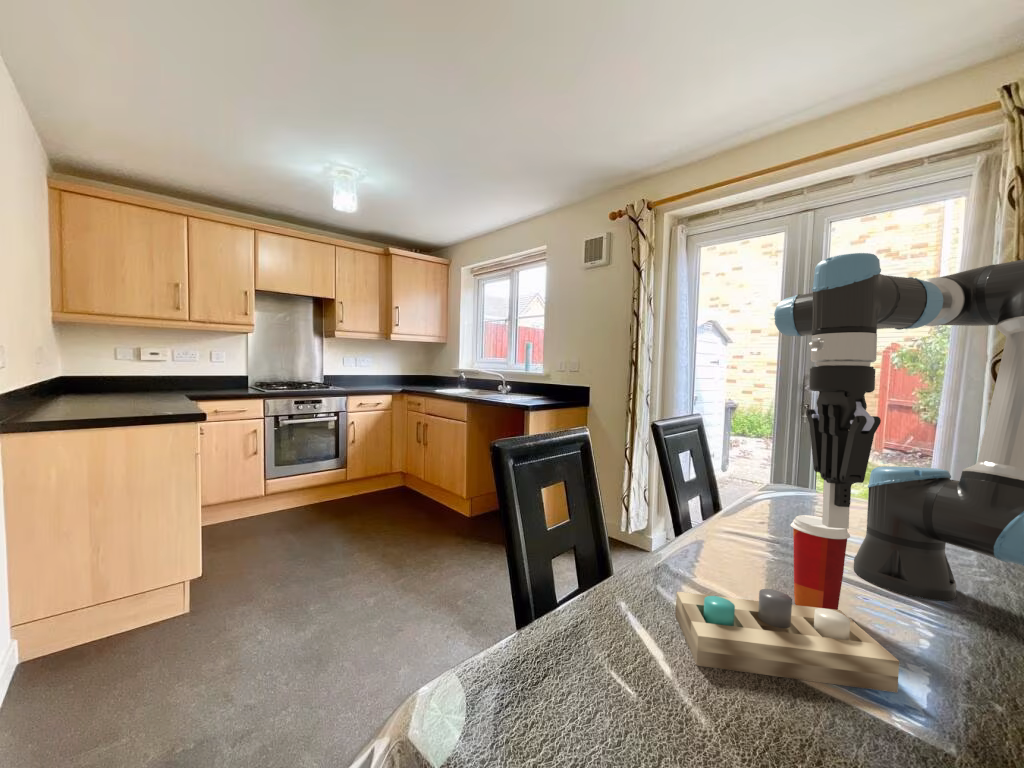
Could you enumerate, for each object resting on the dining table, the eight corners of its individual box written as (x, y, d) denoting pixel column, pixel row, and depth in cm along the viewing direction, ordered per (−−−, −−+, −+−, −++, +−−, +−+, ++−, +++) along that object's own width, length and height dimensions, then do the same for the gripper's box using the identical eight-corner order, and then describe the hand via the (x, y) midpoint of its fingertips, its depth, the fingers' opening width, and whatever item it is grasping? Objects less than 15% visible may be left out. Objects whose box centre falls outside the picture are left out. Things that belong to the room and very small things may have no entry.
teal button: (727, 620, 64) (729, 597, 64) (737, 636, 60) (739, 611, 60) (699, 617, 64) (700, 594, 64) (707, 632, 60) (709, 608, 60)
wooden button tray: (838, 635, 65) (840, 610, 65) (897, 692, 53) (899, 661, 53) (675, 616, 69) (676, 591, 69) (696, 665, 57) (698, 635, 57)
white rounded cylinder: (837, 633, 62) (838, 610, 62) (855, 651, 58) (857, 625, 58) (807, 630, 62) (808, 606, 62) (823, 647, 58) (824, 622, 58)
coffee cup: (834, 601, 76) (839, 518, 76) (854, 626, 68) (859, 533, 68) (780, 592, 79) (784, 511, 78) (793, 614, 71) (798, 525, 71)
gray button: (782, 614, 63) (783, 590, 63) (796, 629, 59) (797, 604, 59) (753, 610, 63) (754, 587, 63) (765, 626, 59) (766, 601, 59)
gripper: (790, 365, 69) (784, 510, 69) (842, 362, 56) (835, 541, 56) (840, 366, 68) (835, 513, 68) (906, 363, 55) (898, 545, 55)
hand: (835, 526), depth 62 cm, fingers closed
